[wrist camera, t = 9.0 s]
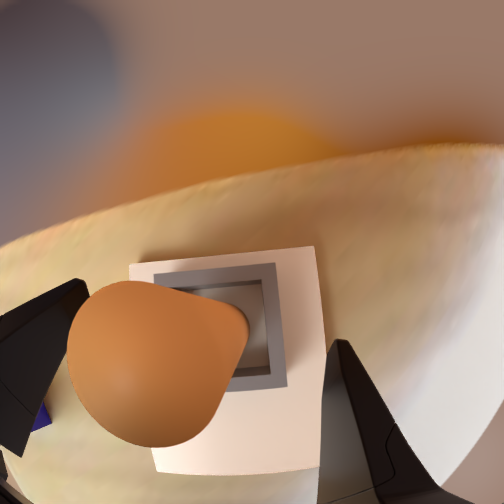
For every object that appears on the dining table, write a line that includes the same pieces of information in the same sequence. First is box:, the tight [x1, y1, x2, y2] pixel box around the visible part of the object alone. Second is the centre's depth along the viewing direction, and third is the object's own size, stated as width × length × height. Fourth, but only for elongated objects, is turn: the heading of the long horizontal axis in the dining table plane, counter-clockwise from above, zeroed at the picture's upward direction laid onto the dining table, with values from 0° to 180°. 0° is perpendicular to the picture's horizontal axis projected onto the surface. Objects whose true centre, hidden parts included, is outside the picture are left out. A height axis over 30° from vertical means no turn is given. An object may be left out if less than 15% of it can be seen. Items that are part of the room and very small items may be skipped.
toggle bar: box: [67, 281, 250, 448], centre depth 11 cm, size 3×3×12 cm
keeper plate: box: [129, 246, 326, 475], centre depth 15 cm, size 15×12×4 cm
